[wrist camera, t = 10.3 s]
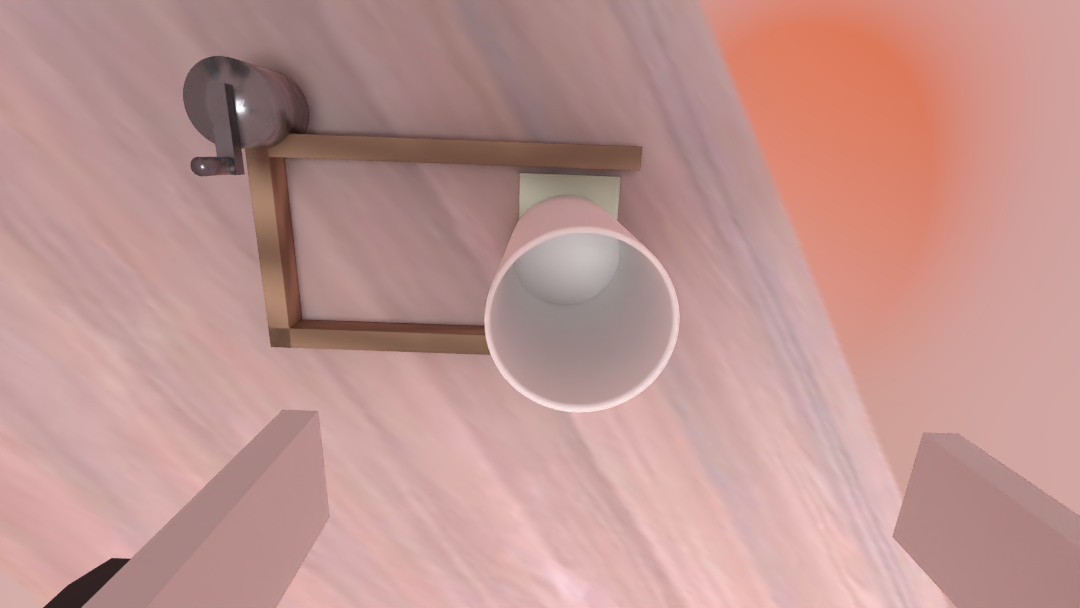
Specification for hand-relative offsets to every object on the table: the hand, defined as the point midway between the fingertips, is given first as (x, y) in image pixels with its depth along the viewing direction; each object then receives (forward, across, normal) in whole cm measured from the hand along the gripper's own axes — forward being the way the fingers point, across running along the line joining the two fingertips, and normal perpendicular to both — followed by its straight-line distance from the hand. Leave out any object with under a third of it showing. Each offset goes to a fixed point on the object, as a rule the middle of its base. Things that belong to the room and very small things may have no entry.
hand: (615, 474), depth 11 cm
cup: (+26, 0, 0) cm, 26 cm away
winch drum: (+26, -20, +9) cm, 35 cm away
